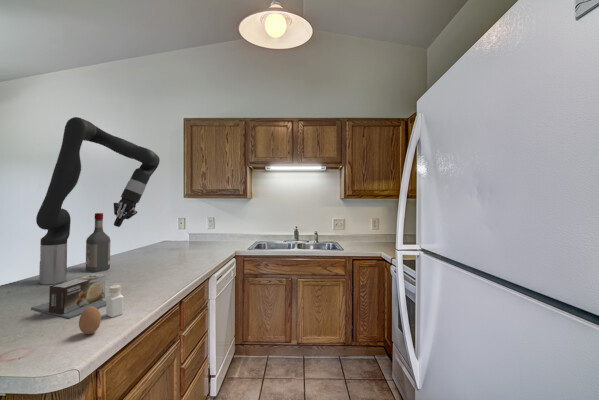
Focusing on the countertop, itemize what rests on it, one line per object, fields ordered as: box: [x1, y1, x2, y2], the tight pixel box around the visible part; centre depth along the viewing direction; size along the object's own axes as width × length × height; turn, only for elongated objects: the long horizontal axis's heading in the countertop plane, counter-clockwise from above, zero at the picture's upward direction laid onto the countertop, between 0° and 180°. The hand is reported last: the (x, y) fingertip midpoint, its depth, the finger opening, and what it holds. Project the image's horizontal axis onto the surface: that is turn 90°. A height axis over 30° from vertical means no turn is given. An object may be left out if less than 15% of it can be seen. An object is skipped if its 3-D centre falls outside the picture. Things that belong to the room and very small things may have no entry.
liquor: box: [85, 212, 111, 273], centre depth 151 cm, size 9×9×30 cm
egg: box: [78, 306, 102, 335], centre depth 83 cm, size 5×5×8 cm
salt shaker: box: [105, 284, 125, 318], centre depth 96 cm, size 4×4×10 cm
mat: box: [30, 299, 106, 320], centre depth 102 cm, size 20×14×1 cm
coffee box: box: [48, 273, 107, 314], centre depth 103 cm, size 9×6×16 cm
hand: (116, 226), depth 129 cm, fingers closed
